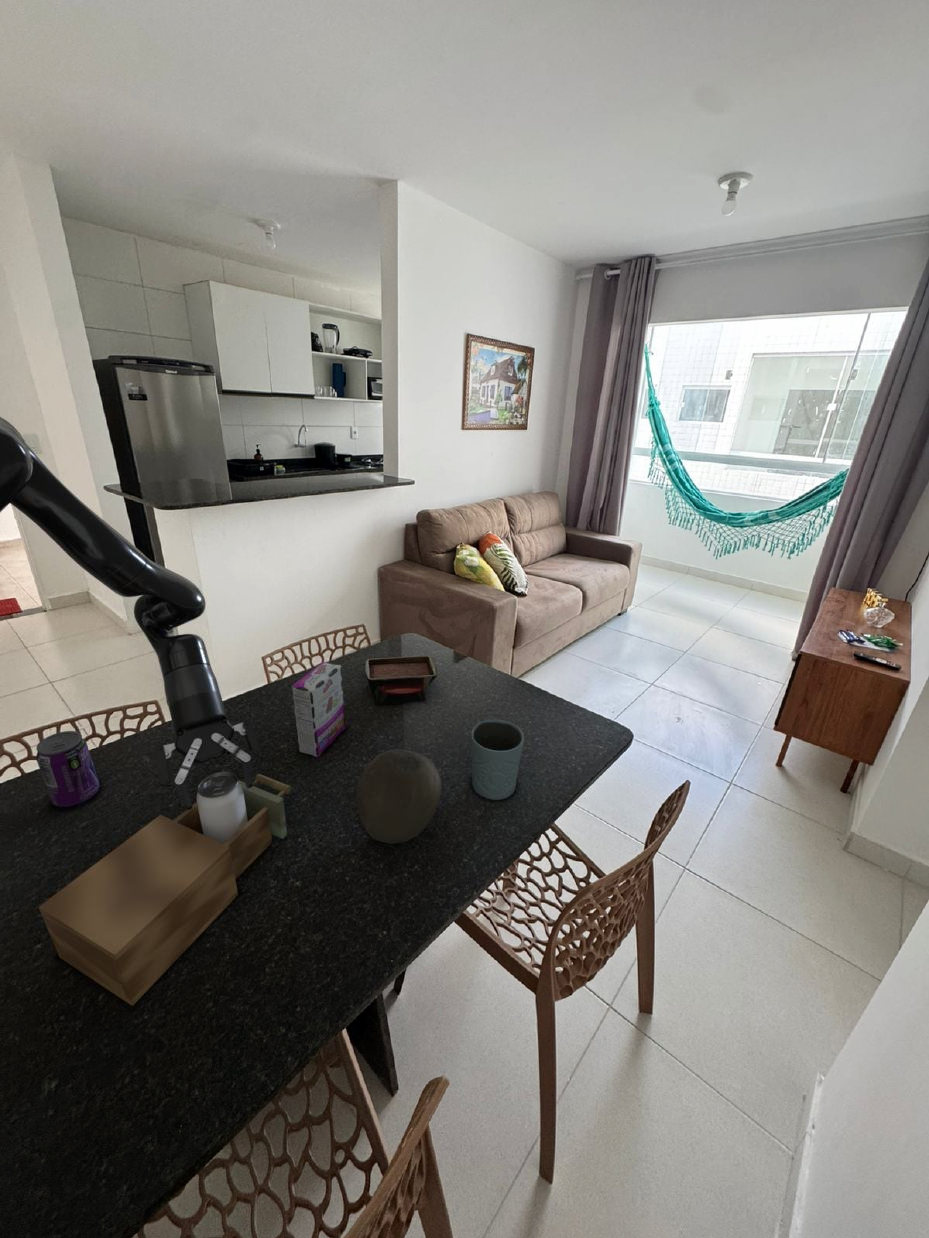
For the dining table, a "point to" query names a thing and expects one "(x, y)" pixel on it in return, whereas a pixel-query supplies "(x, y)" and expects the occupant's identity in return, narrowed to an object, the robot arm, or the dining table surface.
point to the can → (221, 806)
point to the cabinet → (141, 906)
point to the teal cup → (495, 758)
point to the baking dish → (400, 678)
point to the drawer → (250, 822)
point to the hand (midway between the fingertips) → (221, 797)
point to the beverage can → (67, 768)
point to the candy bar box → (319, 708)
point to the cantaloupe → (398, 795)
